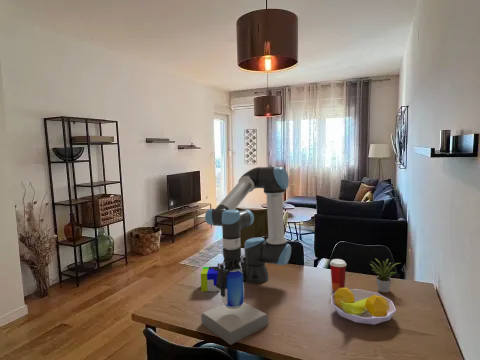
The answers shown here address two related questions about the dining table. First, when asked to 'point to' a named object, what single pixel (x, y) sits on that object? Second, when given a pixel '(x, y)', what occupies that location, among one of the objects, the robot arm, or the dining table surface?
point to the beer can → (235, 289)
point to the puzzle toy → (209, 279)
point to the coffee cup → (338, 273)
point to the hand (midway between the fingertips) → (233, 299)
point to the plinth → (234, 321)
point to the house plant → (383, 276)
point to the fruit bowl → (362, 306)
